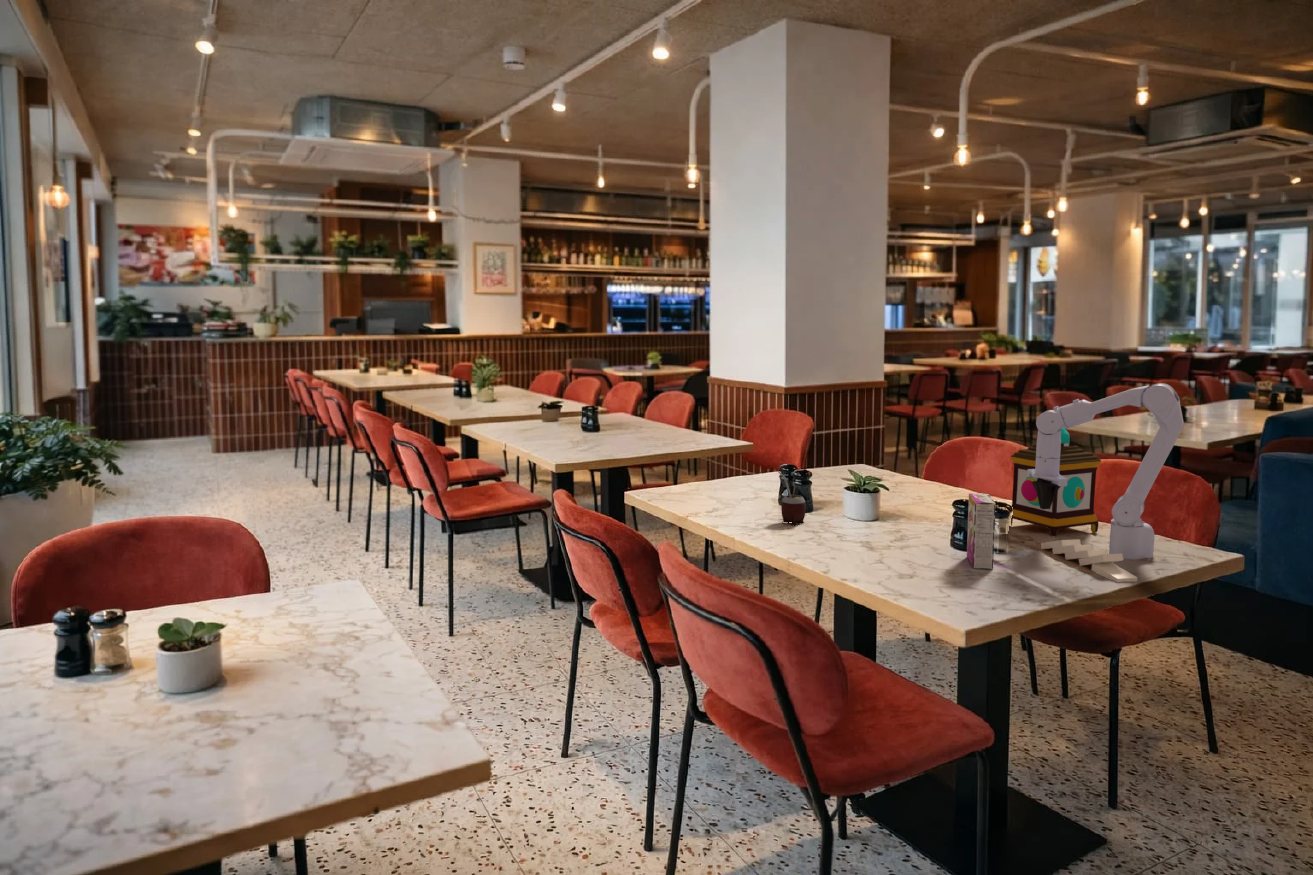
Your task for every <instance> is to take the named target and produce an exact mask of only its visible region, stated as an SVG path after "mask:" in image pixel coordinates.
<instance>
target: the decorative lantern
mask: <svg viewBox="0 0 1313 875" xmlns="http://www.w3.org/2000/svg"><path fill="white" fill-rule="evenodd" d="M1070 439H1071V438H1070V433H1069V432H1068V430H1067V429H1066V428H1062V429H1061V450H1060V468H1059V474H1060V475H1061V476H1063V477H1064V478H1067V479H1068V480H1067V486H1061V487H1060V488H1059V489H1058V491H1057V492H1056V494H1055V496H1054V499H1053V501H1052V504H1051V507H1050V509H1041V508H1040V506H1039V501H1038V496H1037V493H1036V490H1035V488H1034V486H1033V484H1032V481H1037V480H1038V479H1037V478H1034V477H1028V476H1027V472H1028V469H1035V465H1036V447H1037V443H1034V444H1032V446H1029V447H1027V448H1023V449H1022V448H1021V449H1019V450H1018V451H1015V452H1013V454H1011V455H1010V459H1011V462H1012V464H1013V476H1012V477H1013V478H1012V497H1011V506H1012V507H1013V515H1012V518H1011V526H1012V525H1013V522H1014V520H1016V521H1021V522H1025V523H1029V524H1032V525H1036V526H1039V527H1043V528H1047V529H1048V530H1049V533H1050V537H1053V538H1054V537H1057V534H1058V531H1059V530H1062V529H1067V528H1068V529H1069V528H1074V527H1075V528H1076V527H1081V526H1082V527H1083V526H1090V531H1091V533H1093V534H1096V533H1097V532H1098V531H1099V525H1100V524H1099V520H1098V518H1097V516H1096V513H1095V509H1094V508H1095V493H1096V480H1097V469H1098V468H1099V467H1100V465H1101V462H1102V460H1101V459H1100V458H1099V457H1098V456H1097V455H1094V453H1092V452H1090V451H1085V450H1084V449H1082V448H1080V447H1079V445H1076V443H1075V441H1074V442H1073V441H1070Z"/></svg>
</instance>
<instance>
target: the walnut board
mask: <svg viewBox="0 0 1313 875" xmlns="http://www.w3.org/2000/svg"><path fill="white" fill-rule="evenodd" d="M1025 547H1027V548H1030V549H1031V550H1034V551H1037V552H1039V553H1041V554H1043V555H1045V556H1048V557H1050V558H1053V559H1055V560H1057V561H1059V562H1061V563H1064V564H1066V565H1067V566H1070V567H1073V568H1075V569H1077V570H1078V571H1081V572H1084V573H1086V574H1088V575H1092V574H1095V575H1096V574H1097V573H1096V572H1094V571H1092V570H1091V569H1092V565H1088V566H1080V564H1079V559H1070V560H1066V559H1065V554H1053V549H1042V548H1041V544H1030V545H1029V544H1028V545H1027V544H1026V545H1025Z"/></svg>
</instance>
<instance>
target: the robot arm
mask: <svg viewBox="0 0 1313 875" xmlns="http://www.w3.org/2000/svg"><path fill="white" fill-rule="evenodd" d="M1126 406H1132V407H1138V408H1141V407H1143V406H1144V407H1145V408H1146V410H1148V411H1149V412H1150V413H1152V414H1153V416H1154V418H1155V420H1156V422H1157V424H1158V425H1159V429H1158V430H1157V432H1156V434H1155V435H1154V437H1153V440H1152V441H1151V444H1150V445H1149V448H1148V449H1147V451H1146V453H1145V455H1144V456H1143V459H1142V461H1141V462H1140V464H1139V466H1138V468H1137V470H1136V472H1135V474H1134V476H1133V478H1132V479H1131V482H1130V483H1129V486H1128V487H1127V489H1126V491H1125V492H1124V494H1123V495H1121V496H1120V497H1119V498H1117V501H1116V503H1114V504H1113V505H1112V509H1111V515H1112V517H1113V518H1112V519H1111V520H1110V531H1109V532H1110V533H1109V547H1108V554H1122V556H1123V560H1141V559H1153V558H1154V551H1155V550H1154V548H1155V530H1154V529H1153V527H1152V526H1151V524H1149V523H1146V522H1145V521H1143V519H1142V518H1141V516H1142V515H1143V513H1144V511H1145V500H1146V499H1147V496H1148V494H1149V493H1150V491H1151V489H1152V487H1153V485H1154V483H1155V481H1156V479H1157V477H1158V475H1159V473H1160V472H1161V470H1162V468H1163V466H1164V464H1165V462H1166V460H1167V458H1168V457H1169V455H1170V453H1171V451H1172V449H1173V448H1174V445H1175V443H1176V441H1178V438H1179V436H1180V434H1181V432H1182V430H1183V429H1184V424H1185V422H1184V418H1183V412H1182V407H1181V400H1180V397H1179V395H1178V394H1177V392H1176V390H1175V389H1174V388H1173V387H1172V386H1171V385H1169V384H1167V383H1163V382H1160V383H1155V384H1152V385H1151V386H1150V385H1145V386H1139V387H1135V388H1129V389H1127V390H1125V391H1121V392H1118V393H1116V394H1113V395H1110V396H1106V397H1105V398H1101V399H1098V400H1095V401H1092V402H1091V401H1089V400H1086V399H1081V400H1080V399H1079V398H1077V399H1074V400H1072V403H1068V404H1065V405H1062V406H1059V405H1057V406H1054V407H1053V409H1049V410H1046V411H1044V412H1042V413H1040V414H1039V415H1038V416H1037V418H1036V421H1035V425H1036V427H1037V428H1036V429H1037V439H1036V444H1037V447H1036V465H1035V469H1028V472H1027V476H1028V477H1034V478H1037V479H1038V480H1037V481H1032V484H1033V486H1034V488H1035V490H1036V493H1037V496H1038V501H1039V506H1040V508H1041V509H1050V507H1051V504H1052V501H1053V499H1054V496H1055V494H1056V492H1057V491H1058V489H1059V488H1060V487H1061V486H1067V480H1068V479H1067V478H1064V477H1063V476H1061V475H1060V474H1059V468H1060V450H1061V429H1062V428H1065V430H1067V429H1070V428H1073V427H1077V426H1080V425H1083V424H1086V423H1089V422H1092V421H1093V420H1094V418H1095V416H1096V415H1097V414H1101V413H1104V412H1108V411H1112V410H1114V409H1115V410H1116V409H1118V408H1121V407H1126Z"/></svg>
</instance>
